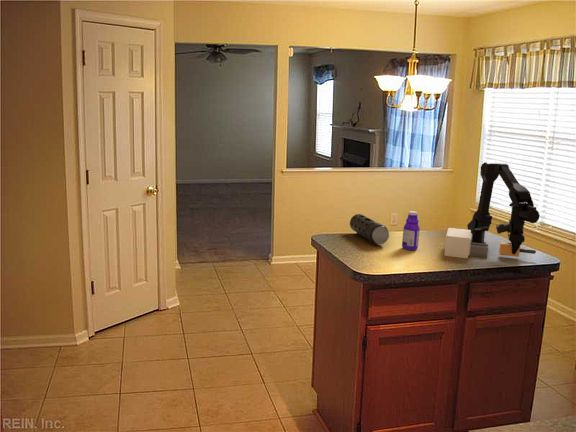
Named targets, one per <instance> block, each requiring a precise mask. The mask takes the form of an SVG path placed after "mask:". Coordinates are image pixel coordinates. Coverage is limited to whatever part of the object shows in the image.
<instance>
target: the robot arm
mask: <svg viewBox="0 0 576 432" xmlns="http://www.w3.org/2000/svg"><path fill="white" fill-rule="evenodd" d="M480 176H481V179H482V183H481V184H482V185H481V189H480V195H479V201H478V207H477V209H476V211H475V212H474V213H473V216H472V219H471V221H469V222H468V224H467V225H466V226H467V230H471V233H472V235H473V237H472V242H473V243H482V244H487V242H485V234H486V232H488V231H489V229H490V226H491V224H492V220H493V215H491V214H490V207H491V201H492V200H491V199H492V194H493V190H494V189H493V188H494V183H495V181H496V180H497V179H498V178H499V177H500V178H501V180H502V181H503V183H504V184H505V186H506V188H507V189H508V196H509V198H510V201H511V203H510V204H508V206H509V207H511V212H510V219H509V220H508V222H504V223H499V224H495V227H496V228H495V230H496V232H497V233H496V234H498V235H499V234H501V233H507V237H508V238H507V239H508V241H509V243H512V254H516V252H517V250H518V249H519V247H520V248H521V246H522V243H525V240H526V239H525V235H524V228H525V224H526V223H527V222H528V223H530V224H535V223H538V221H539V219H540V217H541V215H540V212H539V211H538V210H537V206H535V205H534V201H533V198H532V196H531V193H530V191H529V189H528V188H527V187H526V186H524V185H522V184H520V183H519V181H518V179H517V178H516V177H515V175H514V174H513V172H512V171H511V169H510V166H509V164H508V163H506V162H505V163H504V162H500V163H499V162H488V161H487V162H486V161H485V162H483V163H482V164H481V166H480ZM525 222H526V223H525Z"/></svg>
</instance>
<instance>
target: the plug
mask: <svg viewBox="0 0 576 432" xmlns="http://www.w3.org/2000/svg"><path fill="white" fill-rule="evenodd" d="M498 253H499V256H507V257H508V256H509V257H517V258H519V257H520V253H524V254H533V255H535V254H536V253H537V250H535V249H527V248H521V246H520V247H519V249H518V250H517V252H516V254H512V243H511V242H507V241H506V242H505V241H500V243H499V252H498Z"/></svg>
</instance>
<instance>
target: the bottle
mask: <svg viewBox="0 0 576 432" xmlns="http://www.w3.org/2000/svg"><path fill="white" fill-rule="evenodd" d="M418 213H419V212H418V211H415V210H409V211H408V213H407V214H408V215H407V218H406V219H405V224H404V226H403V228H402V229H403V231H402V241H401V247H402V248H403V249H405V250H408V251H416V250H418V248H419V242H420V241H419V240H420V238H419V237H420V225H419V222H420V221H419V218H418Z"/></svg>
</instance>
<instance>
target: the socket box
mask: <svg viewBox="0 0 576 432" xmlns="http://www.w3.org/2000/svg"><path fill="white" fill-rule="evenodd" d="M446 232H447V233H446V236H445V243H444V245H445V247H444V257H453V258H463V259H468V258H469V256H473V257H480V258H488V253H489V244H488V243H486V244H482V243H473V242H472V237H473V235H472V233H471V230H468V229H466V228H465V229H463V228H454V227H448V229H447V231H446Z"/></svg>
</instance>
